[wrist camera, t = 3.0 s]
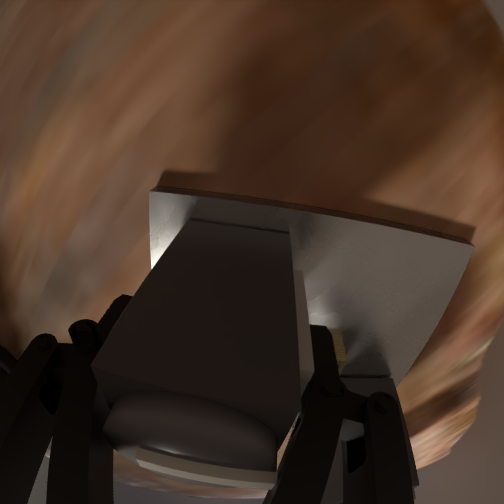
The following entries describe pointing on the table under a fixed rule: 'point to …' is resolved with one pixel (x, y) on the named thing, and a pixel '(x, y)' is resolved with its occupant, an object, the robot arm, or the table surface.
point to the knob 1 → (207, 360)
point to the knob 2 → (334, 486)
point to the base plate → (342, 270)
